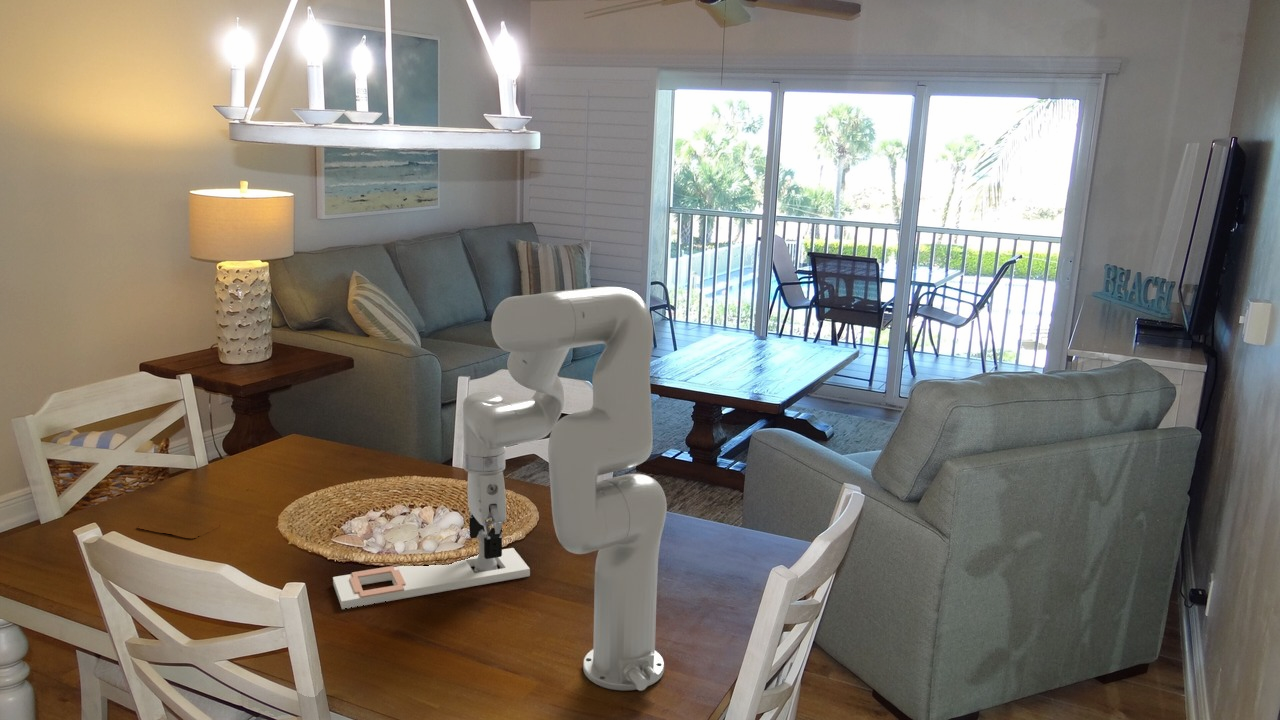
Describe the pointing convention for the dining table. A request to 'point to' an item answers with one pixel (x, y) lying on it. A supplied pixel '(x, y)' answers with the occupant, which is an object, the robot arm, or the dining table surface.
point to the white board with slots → (424, 579)
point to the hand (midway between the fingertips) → (485, 546)
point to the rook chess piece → (481, 562)
